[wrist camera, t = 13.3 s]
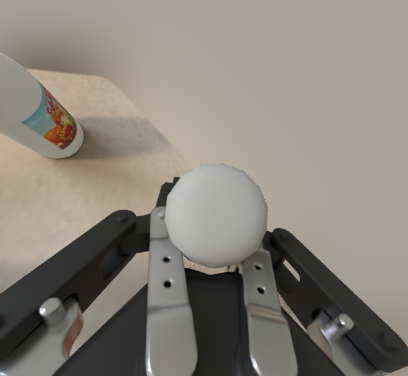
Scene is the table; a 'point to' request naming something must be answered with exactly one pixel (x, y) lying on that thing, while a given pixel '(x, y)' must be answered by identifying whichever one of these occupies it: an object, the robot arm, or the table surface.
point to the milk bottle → (35, 114)
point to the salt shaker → (216, 215)
